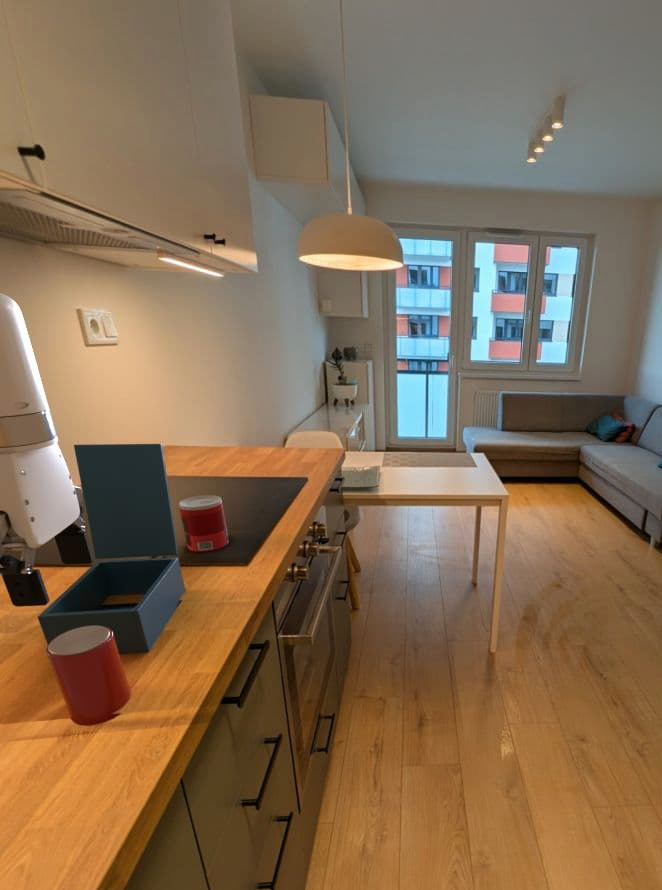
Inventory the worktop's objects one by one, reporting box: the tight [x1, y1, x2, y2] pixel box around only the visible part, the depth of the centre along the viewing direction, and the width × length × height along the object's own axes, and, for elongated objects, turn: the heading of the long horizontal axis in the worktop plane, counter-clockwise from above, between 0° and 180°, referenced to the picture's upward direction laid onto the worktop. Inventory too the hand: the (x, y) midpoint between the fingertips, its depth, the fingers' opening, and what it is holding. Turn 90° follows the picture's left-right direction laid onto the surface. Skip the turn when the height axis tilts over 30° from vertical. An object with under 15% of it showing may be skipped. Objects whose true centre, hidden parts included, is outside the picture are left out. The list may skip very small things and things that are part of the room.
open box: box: [37, 556, 186, 656], centre depth 79 cm, size 18×13×8 cm
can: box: [45, 626, 132, 726], centre depth 62 cm, size 7×7×10 cm
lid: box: [73, 443, 179, 560], centre depth 85 cm, size 18×13×5 cm
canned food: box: [178, 494, 230, 553], centre depth 105 cm, size 8×8×11 cm
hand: (57, 582), depth 57 cm, fingers open, 9 cm apart
